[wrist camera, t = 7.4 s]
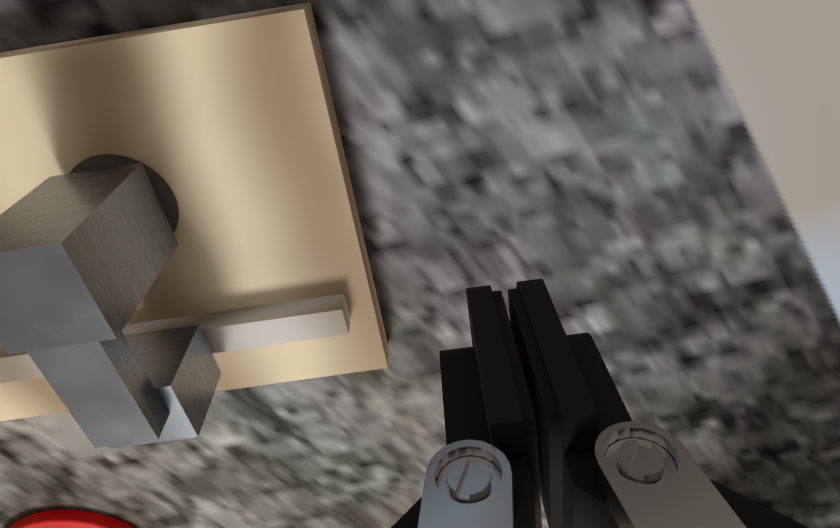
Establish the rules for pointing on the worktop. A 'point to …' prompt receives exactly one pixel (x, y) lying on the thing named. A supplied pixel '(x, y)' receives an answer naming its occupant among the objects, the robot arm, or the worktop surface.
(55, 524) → the tow hook
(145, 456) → the worktop surface
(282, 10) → the bolt plate
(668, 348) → the worktop surface
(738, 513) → the robot arm
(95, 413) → the leg
